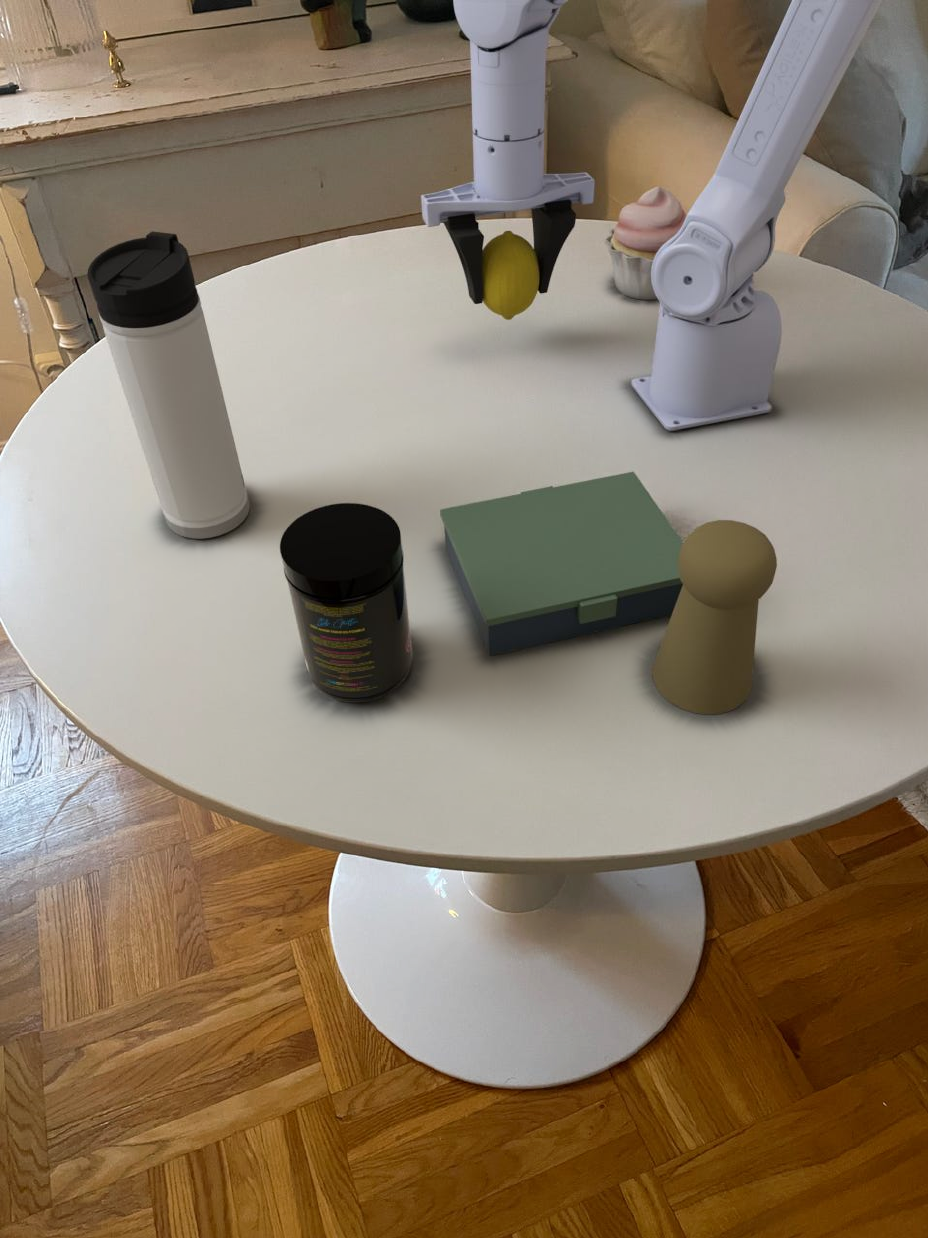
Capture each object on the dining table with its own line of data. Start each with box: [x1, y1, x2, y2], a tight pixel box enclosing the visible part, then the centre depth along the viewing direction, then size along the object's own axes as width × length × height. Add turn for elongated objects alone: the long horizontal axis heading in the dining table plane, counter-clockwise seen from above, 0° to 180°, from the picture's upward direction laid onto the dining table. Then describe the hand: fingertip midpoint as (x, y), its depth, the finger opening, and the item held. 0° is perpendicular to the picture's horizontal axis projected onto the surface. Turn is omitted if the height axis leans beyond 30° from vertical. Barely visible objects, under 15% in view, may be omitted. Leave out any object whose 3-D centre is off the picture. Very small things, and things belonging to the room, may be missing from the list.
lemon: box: [481, 230, 540, 321], centre depth 82 cm, size 6×6×8 cm
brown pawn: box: [651, 519, 778, 715], centre depth 53 cm, size 6×6×11 cm
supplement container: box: [279, 502, 413, 703], centre depth 55 cm, size 7×7×10 cm
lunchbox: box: [439, 471, 684, 656], centre depth 63 cm, size 14×12×4 cm
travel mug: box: [86, 230, 251, 540], centre depth 63 cm, size 6×7×20 cm
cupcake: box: [603, 186, 687, 301], centre depth 91 cm, size 9×9×10 cm
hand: (508, 293), depth 83 cm, fingers closed on lemon, 5 cm apart
